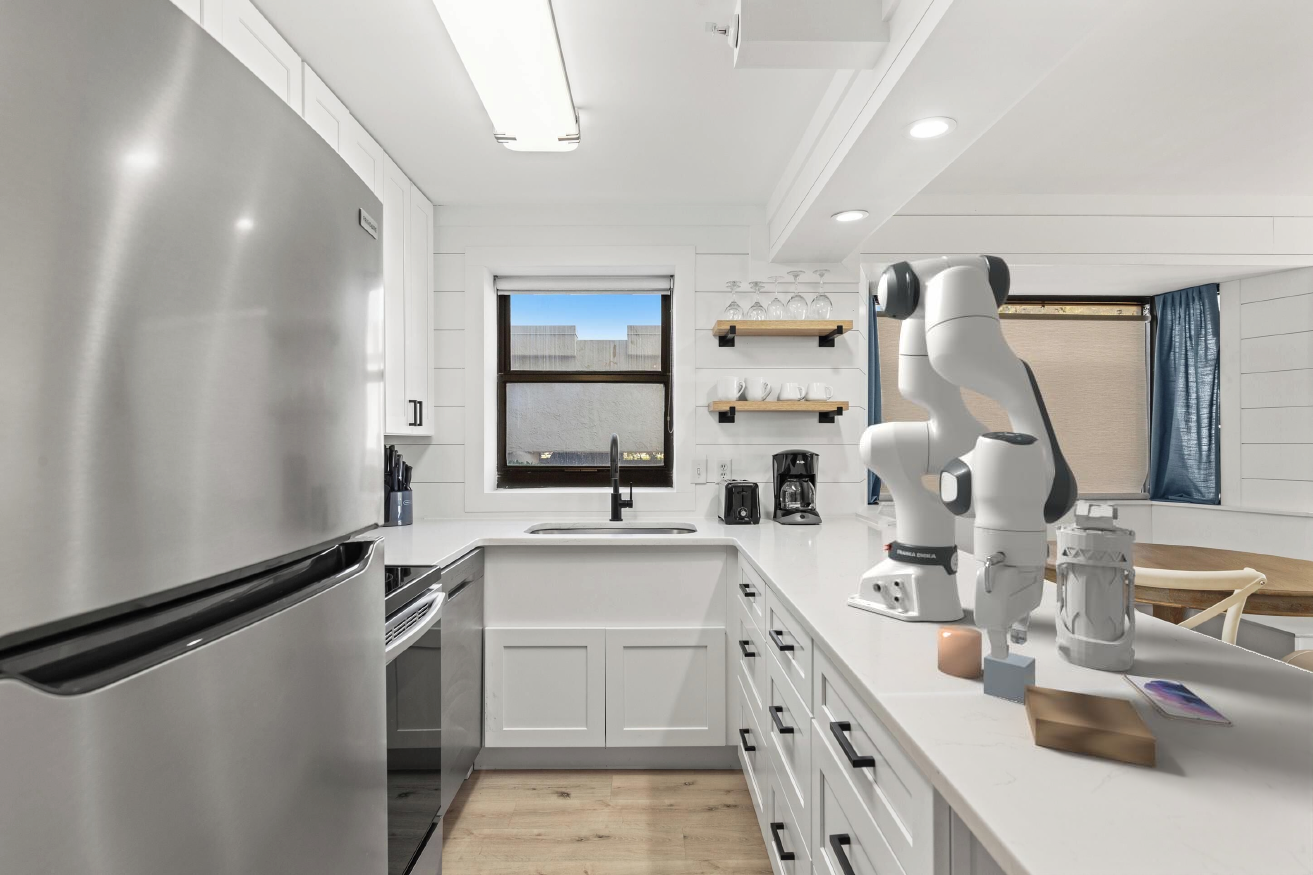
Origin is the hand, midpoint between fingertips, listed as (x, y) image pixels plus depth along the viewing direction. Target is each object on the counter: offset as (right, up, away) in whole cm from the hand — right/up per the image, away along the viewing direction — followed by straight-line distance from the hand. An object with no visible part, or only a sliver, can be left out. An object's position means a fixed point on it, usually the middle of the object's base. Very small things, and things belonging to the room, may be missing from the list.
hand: (1009, 650), depth 85 cm
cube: (0, -6, +1) cm, 6 cm away
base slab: (+2, -6, -11) cm, 13 cm away
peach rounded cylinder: (-2, -6, +9) cm, 11 cm away
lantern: (+22, -7, +15) cm, 28 cm away
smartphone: (+21, -7, -1) cm, 23 cm away
